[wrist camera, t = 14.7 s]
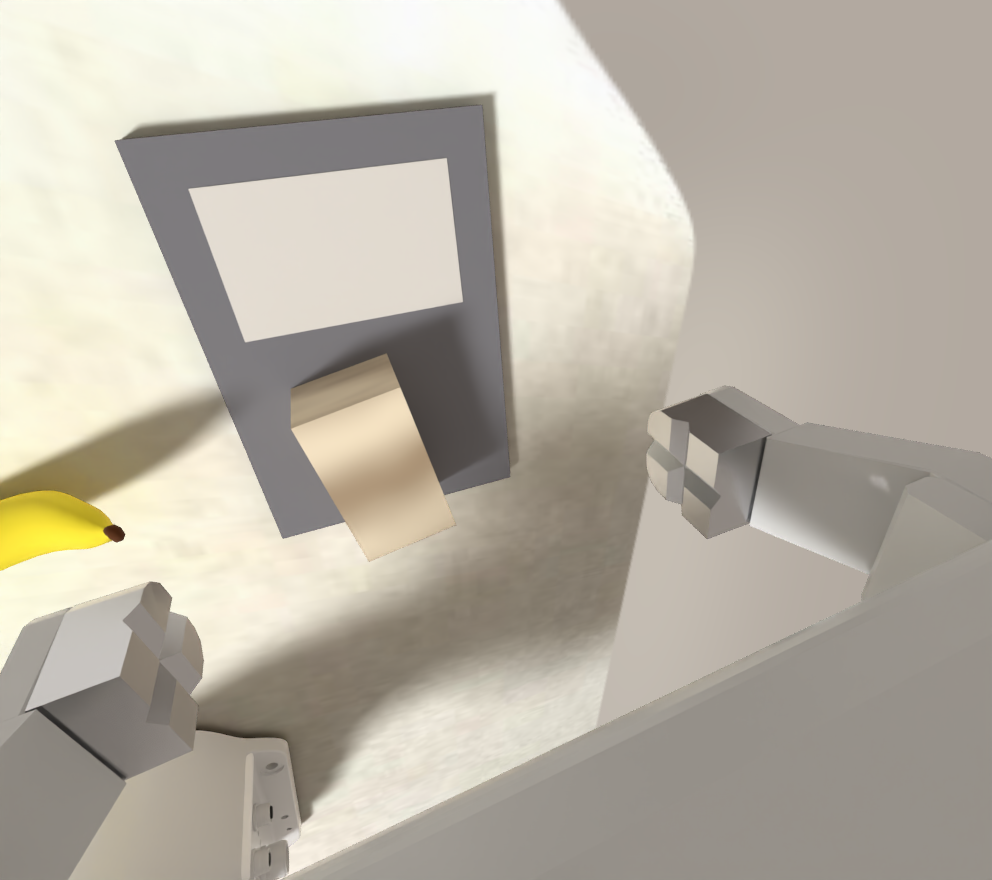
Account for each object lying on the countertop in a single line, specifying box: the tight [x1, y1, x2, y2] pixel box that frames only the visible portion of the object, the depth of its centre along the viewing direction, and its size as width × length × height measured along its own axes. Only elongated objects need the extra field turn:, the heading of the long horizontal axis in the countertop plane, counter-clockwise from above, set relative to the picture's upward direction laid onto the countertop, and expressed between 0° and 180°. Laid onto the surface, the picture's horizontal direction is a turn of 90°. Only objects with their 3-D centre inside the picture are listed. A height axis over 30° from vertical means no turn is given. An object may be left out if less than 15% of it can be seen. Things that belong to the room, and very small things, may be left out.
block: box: [291, 353, 456, 562], centre depth 27 cm, size 9×5×4 cm, turn 14°
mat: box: [115, 105, 510, 539], centre depth 26 cm, size 20×14×1 cm
